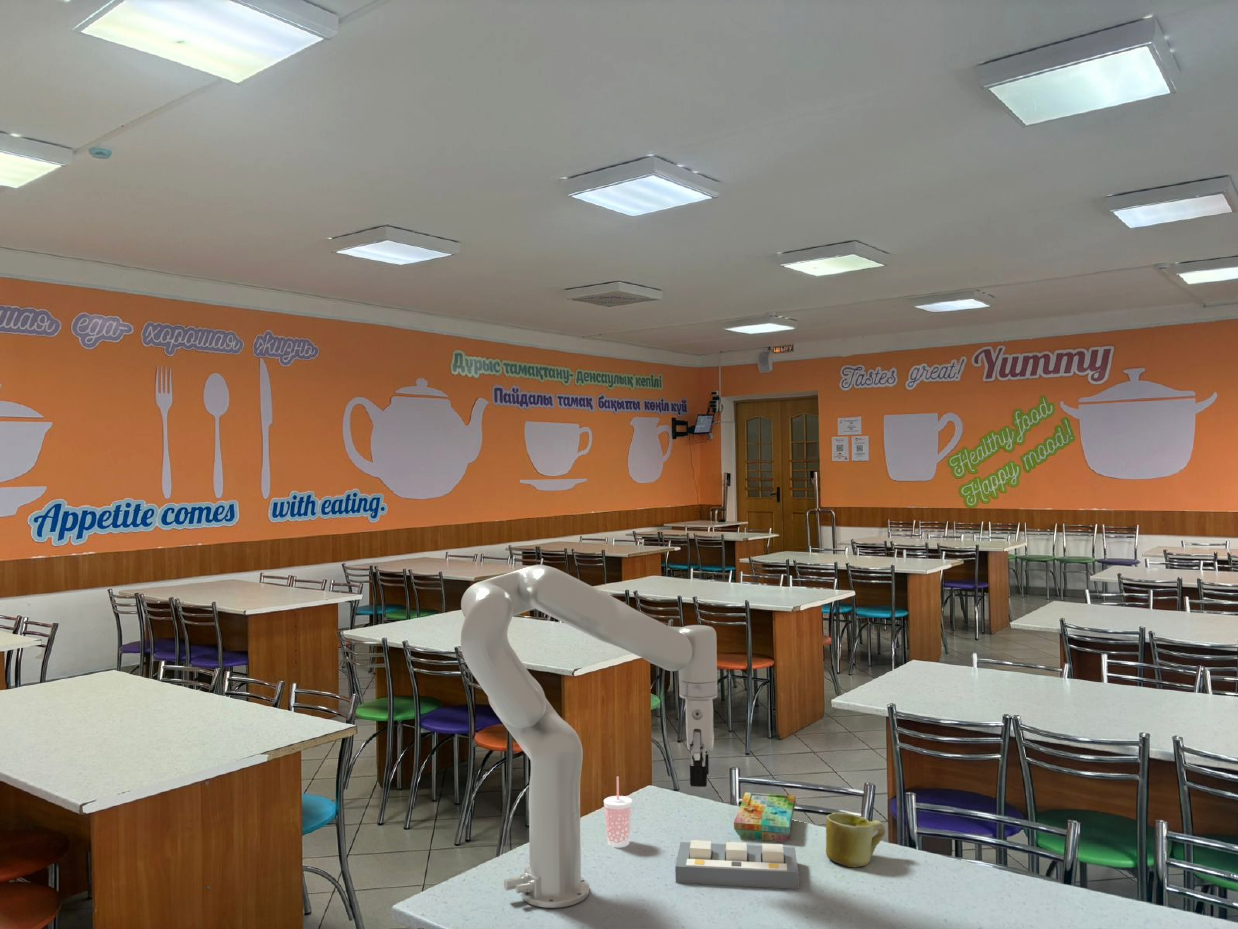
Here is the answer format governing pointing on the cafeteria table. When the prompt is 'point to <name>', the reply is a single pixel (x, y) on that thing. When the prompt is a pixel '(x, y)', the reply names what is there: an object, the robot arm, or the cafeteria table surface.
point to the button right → (772, 853)
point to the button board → (737, 868)
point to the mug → (851, 838)
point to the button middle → (736, 851)
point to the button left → (700, 850)
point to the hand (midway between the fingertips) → (699, 779)
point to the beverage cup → (618, 819)
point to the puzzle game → (765, 816)
